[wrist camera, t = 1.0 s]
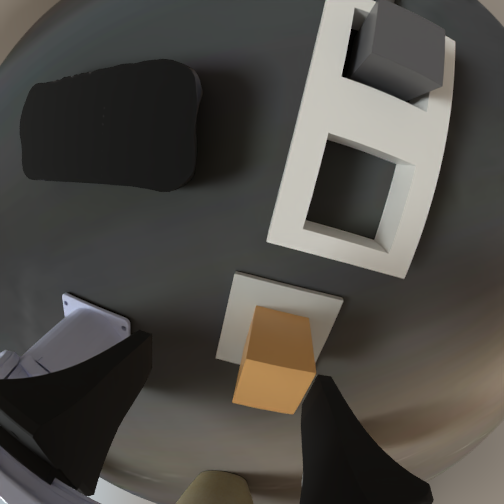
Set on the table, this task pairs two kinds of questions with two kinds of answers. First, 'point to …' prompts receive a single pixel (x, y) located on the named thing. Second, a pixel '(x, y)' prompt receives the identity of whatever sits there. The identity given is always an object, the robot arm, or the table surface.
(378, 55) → the dark grey block
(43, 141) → the black sponge
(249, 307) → the grey mat
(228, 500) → the plant pot
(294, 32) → the table surface
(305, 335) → the orange plug
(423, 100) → the white slotted board
